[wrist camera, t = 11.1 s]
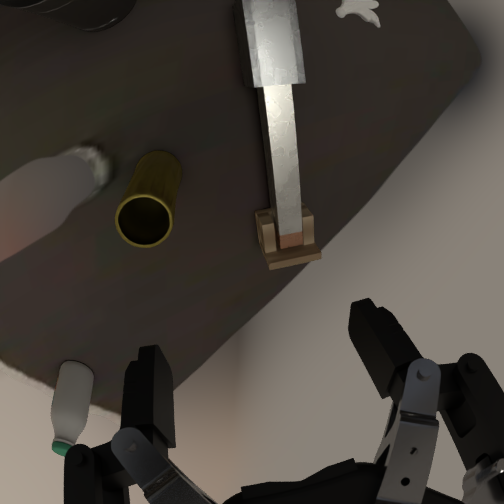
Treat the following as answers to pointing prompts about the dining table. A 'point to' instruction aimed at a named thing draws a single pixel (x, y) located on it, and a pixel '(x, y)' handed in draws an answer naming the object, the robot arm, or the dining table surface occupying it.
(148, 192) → the vase
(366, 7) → the acanthus leaf ornament
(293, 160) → the white orange-tipped bar
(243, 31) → the sleeve
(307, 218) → the socket
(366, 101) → the dining table surface
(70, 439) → the milk bottle
